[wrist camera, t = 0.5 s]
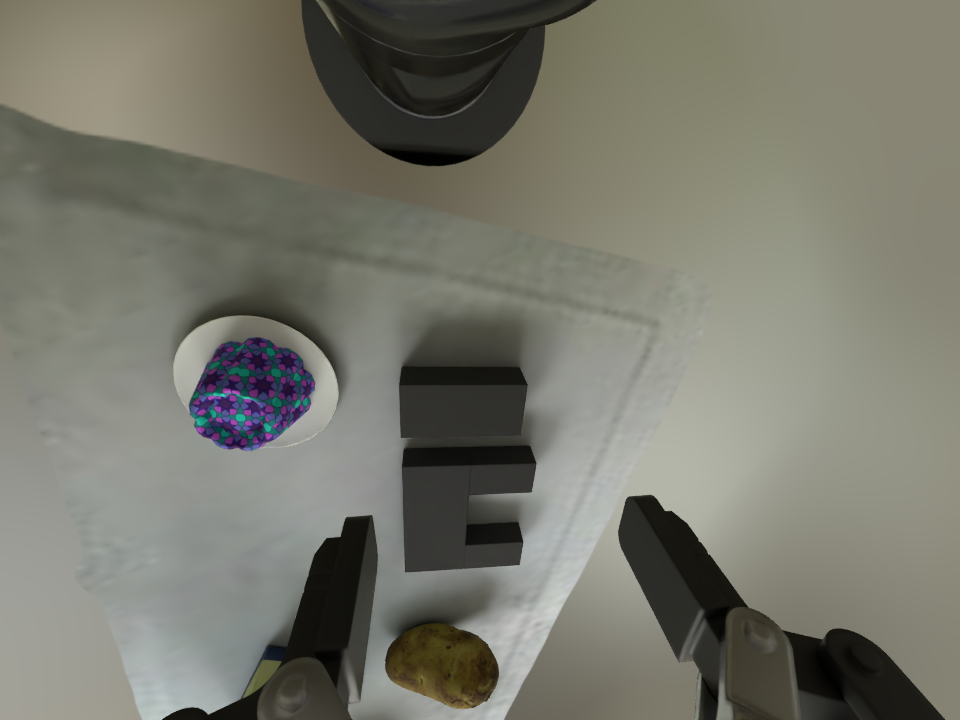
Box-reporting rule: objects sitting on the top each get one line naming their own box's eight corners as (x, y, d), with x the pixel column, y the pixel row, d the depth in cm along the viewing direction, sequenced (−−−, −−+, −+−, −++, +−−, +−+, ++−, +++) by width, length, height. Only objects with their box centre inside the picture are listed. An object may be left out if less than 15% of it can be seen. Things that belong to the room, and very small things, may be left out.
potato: (393, 608, 46) (386, 689, 39) (497, 610, 49) (508, 686, 42) (385, 648, 50) (377, 729, 43) (482, 648, 52) (491, 724, 45)
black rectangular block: (401, 366, 32) (399, 384, 29) (520, 367, 33) (527, 384, 31) (402, 416, 34) (400, 438, 32) (513, 415, 36) (520, 435, 33)
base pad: (403, 448, 36) (402, 467, 34) (530, 445, 37) (536, 463, 35) (406, 551, 42) (405, 572, 40) (515, 544, 44) (519, 565, 41)
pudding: (344, 324, 30) (328, 353, 25) (337, 447, 35) (323, 491, 30) (168, 299, 28) (115, 327, 23) (188, 435, 33) (148, 481, 28)
